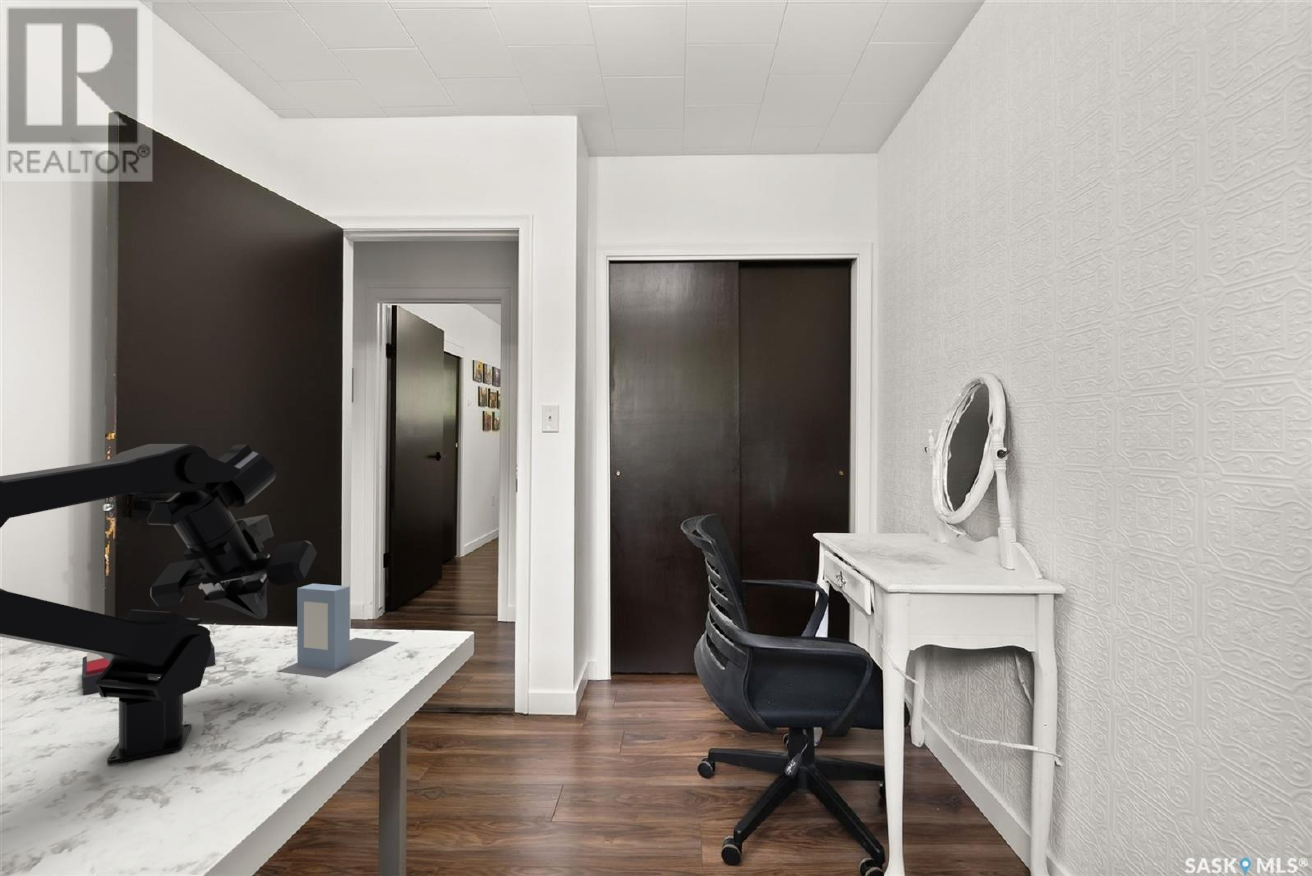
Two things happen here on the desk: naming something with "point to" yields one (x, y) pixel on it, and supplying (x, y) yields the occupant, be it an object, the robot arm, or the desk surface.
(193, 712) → the desk surface
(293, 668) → the mat
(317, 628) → the card box
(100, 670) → the calculator
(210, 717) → the desk surface
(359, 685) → the desk surface
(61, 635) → the robot arm
